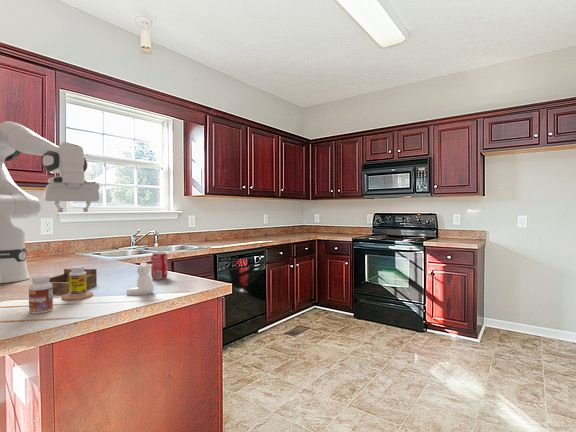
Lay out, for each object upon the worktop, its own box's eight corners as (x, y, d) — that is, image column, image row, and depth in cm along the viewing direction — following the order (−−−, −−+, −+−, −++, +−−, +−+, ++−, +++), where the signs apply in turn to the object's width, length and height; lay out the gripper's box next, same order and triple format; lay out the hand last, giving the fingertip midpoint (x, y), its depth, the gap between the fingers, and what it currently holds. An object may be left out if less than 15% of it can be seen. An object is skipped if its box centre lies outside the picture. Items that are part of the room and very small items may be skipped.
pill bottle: (24, 314, 107) (24, 279, 106) (35, 309, 113) (34, 275, 113) (47, 313, 108) (46, 278, 108) (56, 308, 114) (55, 274, 114)
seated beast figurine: (144, 289, 140) (144, 260, 139) (161, 291, 136) (160, 261, 136) (125, 295, 131) (124, 263, 131) (142, 297, 128) (142, 264, 127)
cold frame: (41, 292, 134) (41, 274, 134) (65, 285, 148) (65, 268, 148) (75, 293, 134) (75, 275, 134) (96, 285, 147) (96, 268, 147)
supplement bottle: (69, 297, 125) (68, 268, 124) (68, 293, 129) (68, 266, 129) (87, 295, 128) (86, 267, 128) (86, 291, 132) (85, 265, 132)
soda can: (164, 276, 166) (163, 251, 165) (169, 278, 160) (169, 253, 160) (149, 278, 161) (148, 252, 161) (154, 281, 156) (154, 254, 155)
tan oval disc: (55, 300, 124) (55, 298, 124) (73, 293, 134) (73, 291, 134) (82, 300, 123) (82, 298, 123) (98, 293, 133) (98, 291, 133)
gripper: (97, 181, 159) (97, 211, 160) (43, 179, 145) (43, 212, 146) (101, 180, 155) (101, 211, 155) (45, 178, 141) (46, 212, 141)
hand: (73, 212), depth 150 cm, fingers open, 8 cm apart
